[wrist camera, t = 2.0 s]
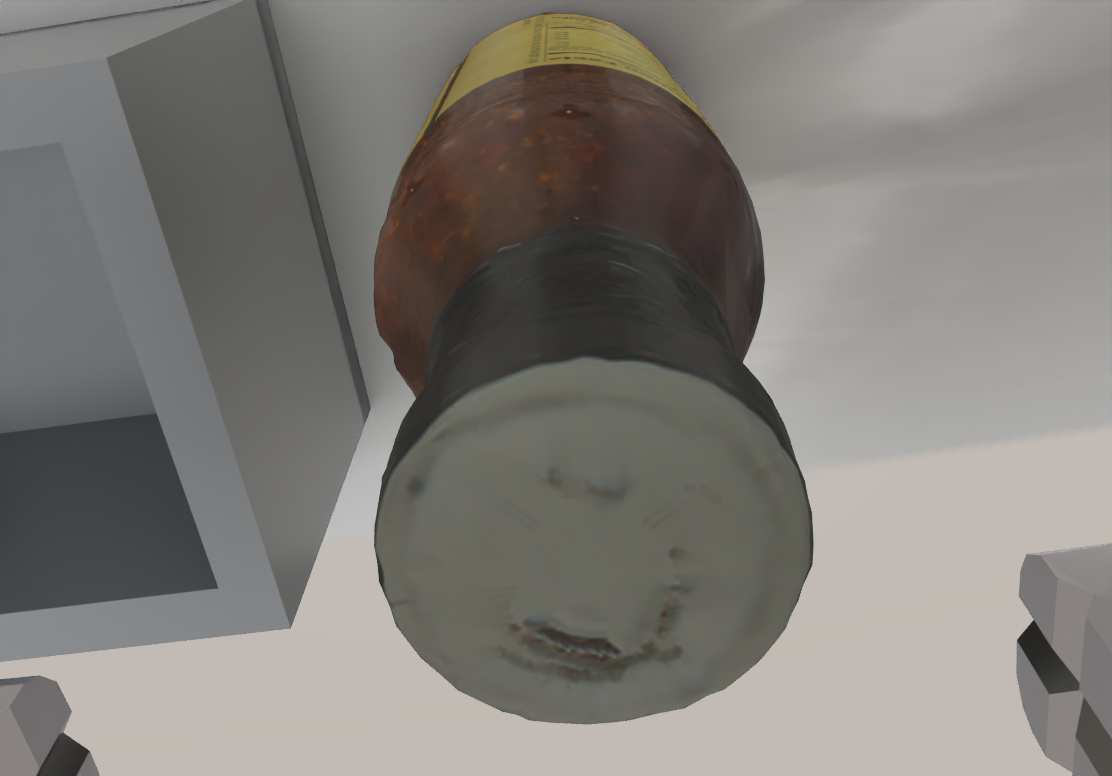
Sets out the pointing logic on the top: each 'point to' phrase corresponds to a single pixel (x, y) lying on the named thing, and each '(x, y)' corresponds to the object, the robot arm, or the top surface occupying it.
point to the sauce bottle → (580, 390)
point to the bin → (162, 335)
